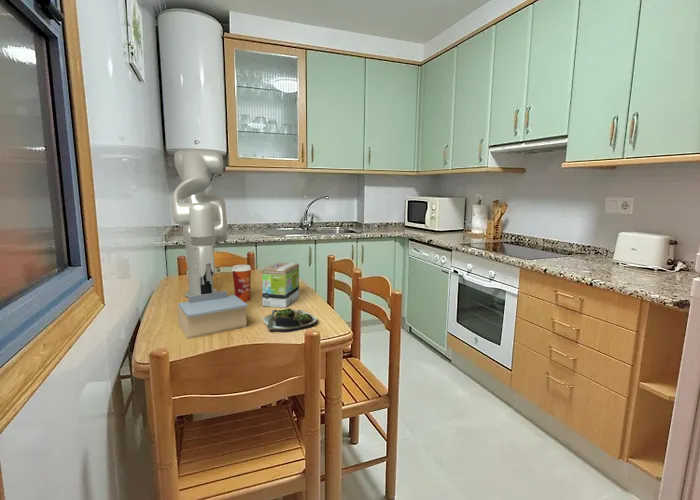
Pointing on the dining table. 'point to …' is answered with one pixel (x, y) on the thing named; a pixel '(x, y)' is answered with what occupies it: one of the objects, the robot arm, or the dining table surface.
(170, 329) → the dining table surface
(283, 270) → the tea box
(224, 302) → the lid
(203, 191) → the robot arm
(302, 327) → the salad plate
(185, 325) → the box
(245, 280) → the paper cup
